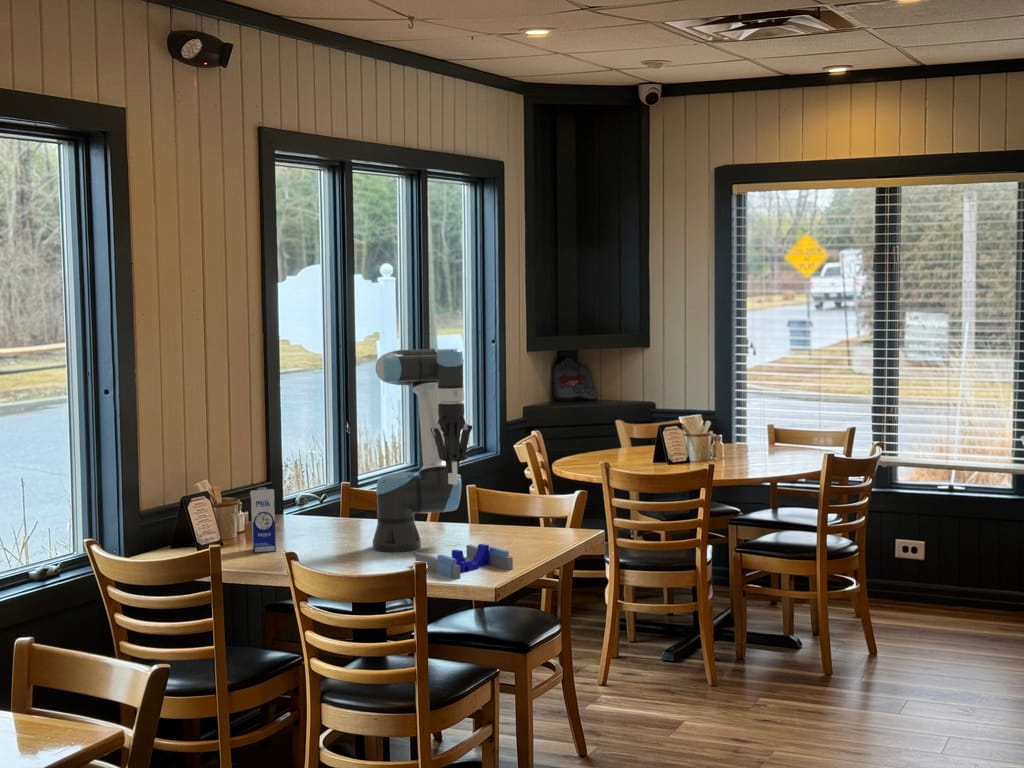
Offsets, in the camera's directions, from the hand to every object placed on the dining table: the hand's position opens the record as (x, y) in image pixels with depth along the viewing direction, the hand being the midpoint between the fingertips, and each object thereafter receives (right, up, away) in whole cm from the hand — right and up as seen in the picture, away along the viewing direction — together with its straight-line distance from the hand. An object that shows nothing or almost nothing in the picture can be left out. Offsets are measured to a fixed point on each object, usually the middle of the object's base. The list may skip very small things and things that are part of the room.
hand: (453, 483), depth 346 cm
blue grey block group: (+3, -24, +2) cm, 25 cm away
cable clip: (+6, -25, 0) cm, 25 cm away
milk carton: (-61, -24, +32) cm, 73 cm away
